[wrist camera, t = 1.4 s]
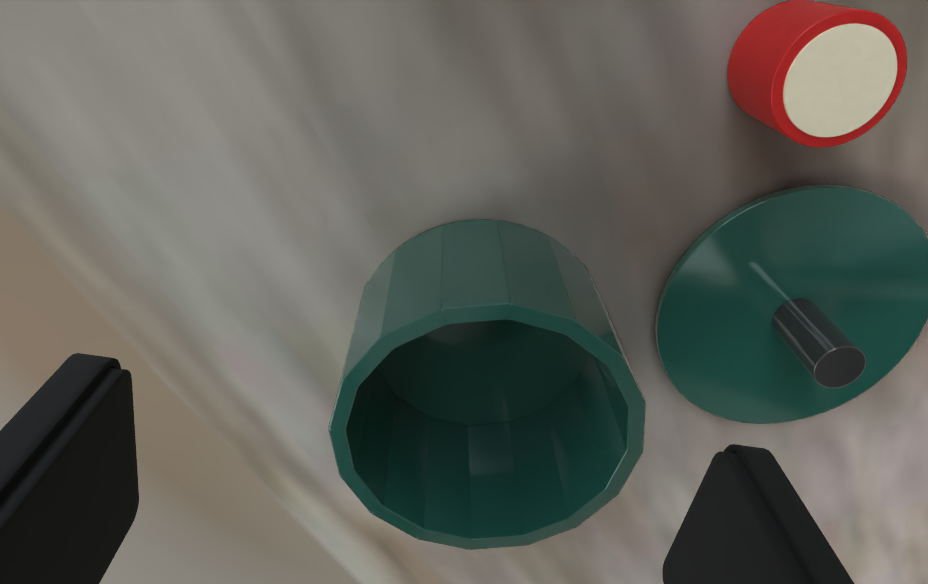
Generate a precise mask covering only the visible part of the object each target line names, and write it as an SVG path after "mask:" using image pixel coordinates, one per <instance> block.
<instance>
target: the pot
mask: <svg viewBox="0 0 928 584" xmlns="http://www.w3.org/2000/svg"><path fill="white" fill-rule="evenodd" d="M645 406H646V404H645V400H644V397H643V395H642V393H641V390H640V388H639V385H638V383H637V381H636V378H635V376H634V374H633V371H632V369H631V366H630V364H629V362H628V359H627V357H626V355H625V352H624V350H623V347H622V345H621V343H620V340H619V338H618V336H617V333H616V331H615V328H614V326H613V324H612V321H611V319H610V317H609V314H608V312H607V309H606V307H605V305H604V303H603V301H602V299H601V297H600V294H599V292H598V290H597V288H596V286H595V284H594V282H593V280H592V278H591V276H590V274H589V272H588V270H587V268H586V267H585V265H584V264H582V263H581V262H580V261H579V260H578V258H577V257H576V256H574V255H573V254H572V253H571V252H570V251H569V250H568V249H567V248H566V247H565V246H563V245H562V244H560V243H559V242H557V241H556V240H555V239H553V238H551V237H549V236H547V235H546V234H544V233H542V232H540V231H538V230H535V229H532V228H529V227H527V226H524V225H521V224H516V223H512V222H507V221H499V220H489V219H484V220H466V221H459V222H453V223H449V224H446V225H442V226H438V227H435V228H433V229H430V230H428V231H426V232H423V233H421V234H419V235H417V236H415V237H414V238H412V239H410V240H409V241H407V242H405V243H404V244H403V245H401V246H400V247H399V248H397V249H396V250H395V251H393V252H392V253H391V254H390V255H389V256H388V257H387V258H386V259H385V260H384V261H383V262H382V263H381V265H380V266H379V267H378V269H377V270H376V271H375V273H374V274H373V275H372V277H371V279H370V280H369V281H368V283H367V284H366V285H365V287H364V291H363V295H362V298H361V302H360V306H359V309H358V313H357V317H356V320H355V324H354V328H353V332H352V336H351V340H350V344H349V348H348V352H347V356H346V360H345V364H344V368H343V371H342V375H341V379H340V383H339V387H338V391H337V395H336V399H335V403H334V407H333V411H332V415H331V419H330V423H329V433H330V438H331V442H332V446H333V450H334V454H335V458H336V462H337V467H338V471H339V474H340V476H341V478H342V479H343V480H344V481H345V483H346V484H347V485H348V486H349V487H350V489H351V490H352V491H353V492H354V493H355V495H356V496H357V497H358V498H359V499H360V501H361V502H362V503H363V504H364V506H365V507H366V508H367V509H368V510H369V512H370V513H372V514H373V515H375V516H377V517H378V518H380V519H382V520H384V521H386V522H387V523H389V524H391V525H393V526H395V527H396V528H398V529H400V530H402V531H404V532H405V533H407V534H409V535H411V536H413V537H414V538H417V539H419V540H424V541H429V542H434V543H439V544H444V545H449V546H454V547H459V548H464V549H469V550H470V549H471V550H474V549H487V548H500V547H513V546H525V545H526V546H527V545H529V544H532V543H535V542H538V541H540V540H543V539H546V538H548V537H551V536H554V535H557V534H559V533H562V532H565V531H567V530H570V529H573V528H576V527H577V526H579V525H580V524H581V523H583V522H584V521H585V520H586V519H588V518H589V517H590V516H592V515H593V514H594V513H595V512H597V511H598V510H599V509H600V508H602V507H603V506H604V505H606V504H607V503H608V502H609V501H611V500H612V499H613V498H614V497H616V496H617V495H618V494H619V493H620V491H621V489H622V487H623V486H624V484H625V482H626V480H627V479H628V477H629V475H630V473H631V472H632V470H633V468H634V467H635V465H636V463H637V461H638V460H639V458H640V456H641V454H642V453H643V442H644V424H645Z"/></svg>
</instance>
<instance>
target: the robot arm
mask: <svg viewBox="0 0 928 584" xmlns="http://www.w3.org/2000/svg"><path fill="white" fill-rule="evenodd" d="M135 444H136V443H135V426H134V410H133V393H132V378H131V373H130V372H129V371H128V370H124V369H121V367H120V363H119V362H118V360H117V359H115V358H109V357H102V356H94V355H87V354H80V353H77V354H73V355H72V356H70V357H69V358H68V359H67V360H66V361H65V362H64V363H63V364H62V365H61V366H60V368H59V369H58V370H57V371H56V372H55V373H54V374H53V375H52V376H51V377H50V378H49V379H48V380H47V381H46V382H45V384H44V385H43V386H42V387H41V388H40V389H39V390H38V391H37V392H36V393H35V394H34V396H32V397H31V399H30V400H29V401H28V402H27V403H26V404H25V405H24V406H23V407H22V408H21V409H20V410H19V411H18V412H17V414H16V415H15V416H14V417H13V418H12V419H11V420H10V421H9V422H8V423H7V424H6V425H5V426H4V427H3V429H2V430H1V431H0V584H99V583H100V581H101V579H102V577H103V575H104V574H105V572H106V570H107V568H108V566H109V565H110V563H111V561H112V559H113V558H114V556H115V554H116V552H117V550H118V548H119V547H120V545H121V543H122V541H123V540H124V538H125V535H126V534H127V532H128V531H129V529H130V527H131V525H132V523H133V521H134V519H135V516H136V512H137V508H138V503H139V493H138V476H137V459H136V445H135ZM663 582H664V584H854V583H853V581H852V579H851V578H850V576H849V575H848V573H847V571H846V570H845V568H844V567H843V565H842V564H841V562H840V560H839V559H838V557H837V556H836V554H835V553H834V551H833V549H832V548H831V546H830V545H829V543H828V541H827V540H826V538H825V537H824V535H823V534H822V532H821V530H820V529H819V527H818V526H817V524H816V523H815V521H814V519H813V518H812V516H811V515H810V513H809V511H808V510H807V508H806V507H805V505H804V504H803V502H802V500H801V499H800V497H799V496H798V494H797V493H796V491H795V489H794V488H793V486H792V485H791V483H790V481H789V480H788V478H787V477H786V475H785V474H784V472H783V470H782V469H781V467H780V466H779V464H778V462H777V461H776V459H775V458H774V456H773V455H772V454H771V452H770V451H769V450H766V449H764V448H757V447H749V446H742V445H735V444H733V445H729V446H728V447H727V448H726V449H725V450H724V452H718V453H716V454H715V456H714V457H713V459H712V461H711V464H710V466H709V468H708V470H707V472H706V474H705V476H704V478H703V480H702V483H701V485H700V487H699V489H698V491H697V493H696V495H695V497H694V499H693V502H692V504H691V506H690V508H689V510H688V512H687V514H686V516H685V518H684V521H683V523H682V525H681V527H680V529H679V531H678V533H677V535H676V538H675V540H674V542H673V544H672V546H671V548H670V550H669V552H668V554H667V557H666V559H665V561H664V565H663Z"/></svg>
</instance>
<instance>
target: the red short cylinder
mask: <svg viewBox="0 0 928 584" xmlns="http://www.w3.org/2000/svg"><path fill="white" fill-rule="evenodd" d="M906 69H907V53H906V47H905V43H904V40H903V38H902V36H901V34H900V32H899V31H898V29H897V28H896V27H895V26H894V25H893V24H892V23H891V21H889V20H888V19H886V18H885V17H883V16H881V15H879V14H877V13H874V12H871V11H866V10H860V9H854V8H848V7H843V6H837V5H831V4H825V3H819V2H813V1H806V0H793V1H787V2H783V3H780V4H777V5H775V6H773V7H771V8H769V9H767V10H766V11H764V12H762V13H761V14H760V15H758V16H757V17H756V18H755V19H754V20H753V21H751V22H750V23H749V25H748V26H747V27H746V28H745V29H744V30H743V32H742V33H741V35H740V36H739V38H738V39H737V41H736V43H735V45H734V47H733V50H732V52H731V56H730V59H729V64H728V84H729V88H730V92H731V94H732V97H733V98H734V100H735V102H736V103H737V104H738V106H739V107H740V108H741V109H742V110H743V111H745V112H746V113H748V114H749V115H751V116H752V117H754V118H756V119H758V120H759V121H761V122H763V123H764V124H766V125H768V126H769V127H771V128H773V129H775V130H776V131H778V132H780V133H781V134H783V135H785V136H787V137H788V138H790V139H792V140H793V141H795V142H797V143H800V144H802V145H806V146H810V147H830V146H836V145H840V144H843V143H846V142H848V141H851V140H853V139H855V138H857V137H859V136H861V135H862V134H864V133H865V132H867V131H868V130H870V129H871V128H872V127H873V126H875V125H876V124H877V123H878V122H879V121H880V120H881V119H882V118H883V117H884V116H885V114H886V113H887V112H888V111H889V110H890V108H891V107H892V105H893V104H894V102H895V100H896V99H897V97H898V95H899V93H900V90H901V88H902V86H903V82H904V79H905V75H906Z"/></svg>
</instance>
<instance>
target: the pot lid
mask: <svg viewBox="0 0 928 584" xmlns="http://www.w3.org/2000/svg"><path fill="white" fill-rule="evenodd" d="M927 318H928V239H927V237H926V235H925V233H924V231H923V230H922V229H921V227H920V226H919V225H918V223H917V222H916V221H915V219H914V218H912V217H911V216H910V215H909V214H908V213H907V212H906V211H905V210H904V209H902V208H901V207H899V206H898V205H896V204H894V203H893V202H891V201H890V200H888V199H886V198H885V197H883V196H880V195H878V194H876V193H873V192H871V191H868V190H865V189H860V188H856V187H852V186H845V185H835V184H819V185H807V186H800V187H793V188H789V189H785V190H782V191H778V192H774V193H771V194H769V195H766V196H763V197H761V198H758V199H756V200H753V201H751V202H749V203H747V204H745V205H744V206H742V207H740V208H738V209H736V210H734V211H733V212H731V213H730V214H728V215H727V216H725V217H724V218H722V219H721V220H719V221H718V222H716V223H715V224H714V225H713V226H712V227H710V228H709V229H708V230H707V231H705V232H704V233H703V234H702V235H701V236H700V237H699V238H698V239H697V240H696V241H695V242H694V243H693V244H692V245H691V246H690V247H689V248H688V250H687V251H686V252H685V254H684V255H683V256H682V258H681V259H680V260H679V261H678V263H677V264H676V266H675V268H674V269H673V271H672V273H671V274H670V276H669V278H668V280H667V282H666V285H665V287H664V289H663V291H662V294H661V297H660V301H659V304H658V308H657V314H656V321H655V340H656V345H657V351H658V355H659V358H660V360H661V363H662V366H663V368H664V370H665V372H666V373H667V375H668V377H669V379H670V381H671V382H672V383H673V385H674V386H675V387H676V388H677V390H678V391H679V392H680V393H681V394H682V395H683V396H684V397H685V398H687V399H688V400H689V401H690V402H691V403H693V404H695V405H696V406H698V407H699V408H701V409H702V410H704V411H707V412H709V413H711V414H713V415H715V416H718V417H721V418H725V419H728V420H732V421H738V422H743V423H755V424H771V423H782V422H790V421H795V420H799V419H804V418H808V417H811V416H814V415H817V414H821V413H824V412H826V411H829V410H831V409H833V408H836V407H838V406H840V405H842V404H844V403H846V402H848V401H850V400H852V399H853V398H855V397H857V396H859V395H860V394H862V393H863V392H865V391H866V390H868V389H869V388H871V387H872V386H873V385H874V384H876V383H877V382H878V381H879V380H881V379H882V378H883V377H884V376H886V375H887V374H888V373H889V372H890V371H891V370H892V369H893V368H894V367H895V366H896V365H897V364H898V363H899V362H900V360H901V359H902V358H903V357H904V356H905V355H906V353H907V352H908V351H909V350H910V348H911V347H912V345H913V344H914V342H915V341H916V339H917V338H918V336H919V334H920V332H921V331H922V329H923V327H924V325H925V323H926V321H927Z"/></svg>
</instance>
